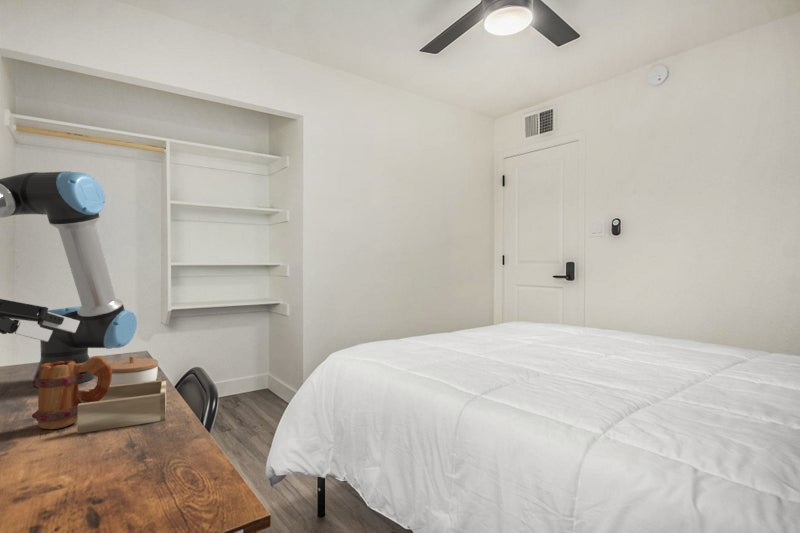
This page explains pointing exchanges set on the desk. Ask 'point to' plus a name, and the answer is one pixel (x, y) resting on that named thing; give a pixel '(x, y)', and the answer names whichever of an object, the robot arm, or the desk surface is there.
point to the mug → (68, 390)
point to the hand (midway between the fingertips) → (63, 331)
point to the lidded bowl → (134, 371)
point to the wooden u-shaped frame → (124, 406)
